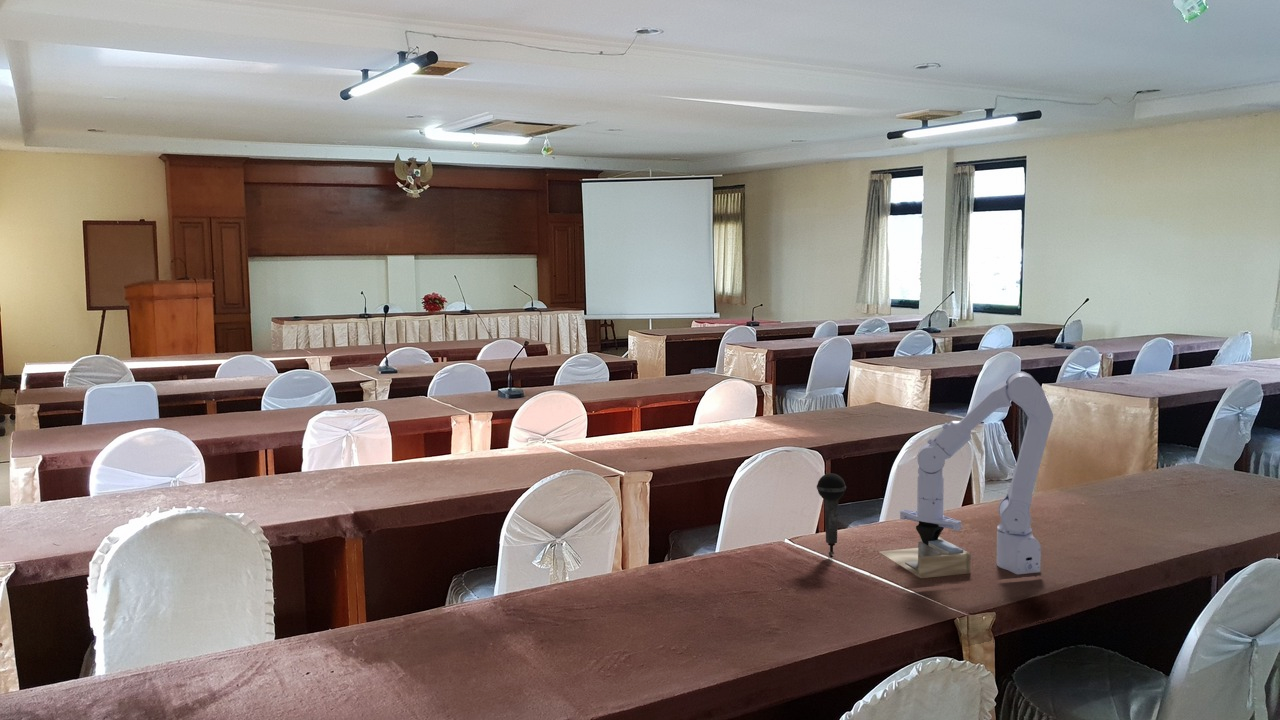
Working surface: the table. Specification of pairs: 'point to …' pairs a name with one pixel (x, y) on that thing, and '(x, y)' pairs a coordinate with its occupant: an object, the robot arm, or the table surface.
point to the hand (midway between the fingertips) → (929, 555)
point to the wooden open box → (930, 561)
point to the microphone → (831, 504)
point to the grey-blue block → (944, 547)
